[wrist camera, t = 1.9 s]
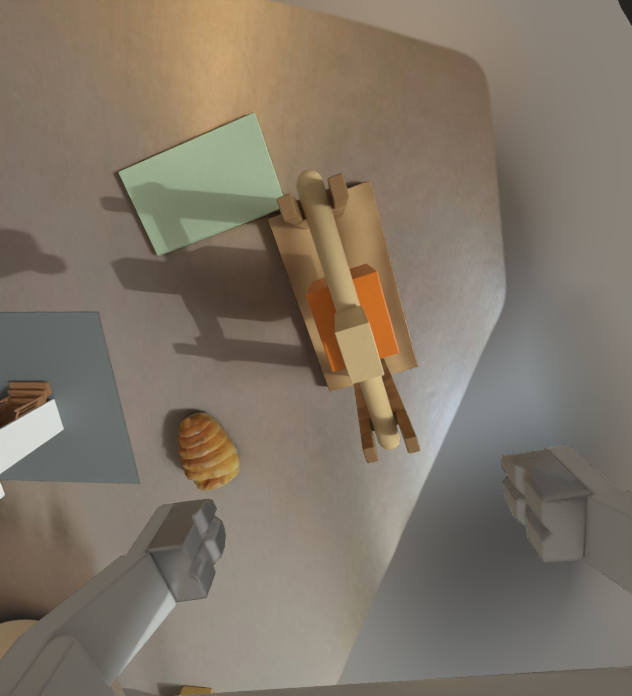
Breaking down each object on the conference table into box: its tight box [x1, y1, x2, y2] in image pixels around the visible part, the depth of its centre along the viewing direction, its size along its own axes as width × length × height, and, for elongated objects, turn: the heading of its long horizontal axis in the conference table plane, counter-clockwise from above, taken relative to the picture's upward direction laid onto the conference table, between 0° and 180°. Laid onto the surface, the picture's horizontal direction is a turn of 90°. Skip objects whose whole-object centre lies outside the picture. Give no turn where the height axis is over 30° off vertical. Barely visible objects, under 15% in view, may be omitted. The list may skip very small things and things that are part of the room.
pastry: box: [178, 412, 239, 490], centre depth 38 cm, size 9×7×4 cm
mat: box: [118, 113, 283, 255], centre depth 30 cm, size 14×8×1 cm, turn 109°
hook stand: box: [268, 173, 420, 463], centre depth 26 cm, size 10×19×16 cm, turn 19°
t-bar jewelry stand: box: [296, 170, 400, 450], centre depth 22 cm, size 5×20×13 cm, turn 19°
